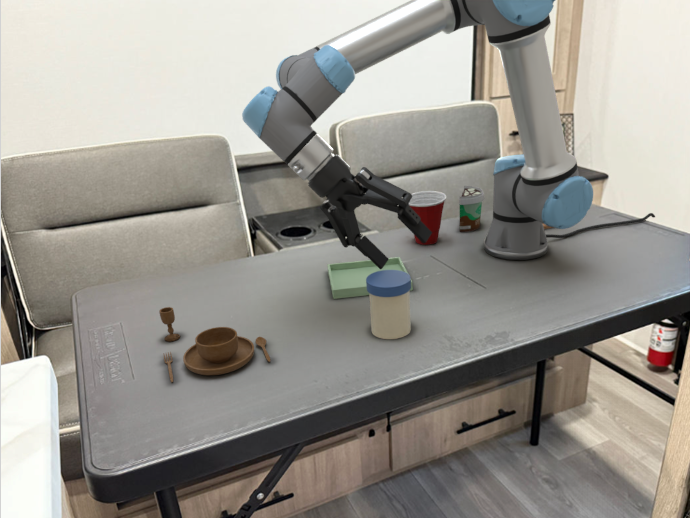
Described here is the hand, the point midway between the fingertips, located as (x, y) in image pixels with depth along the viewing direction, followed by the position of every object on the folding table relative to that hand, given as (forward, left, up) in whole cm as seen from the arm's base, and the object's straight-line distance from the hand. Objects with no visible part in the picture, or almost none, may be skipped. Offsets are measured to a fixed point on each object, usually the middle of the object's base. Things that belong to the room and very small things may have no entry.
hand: (405, 252), depth 110 cm
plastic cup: (-13, -43, -14) cm, 47 cm away
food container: (-28, -51, -14) cm, 60 cm away
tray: (+5, -21, -14) cm, 26 cm away
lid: (+4, +3, -4) cm, 6 cm away
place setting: (+36, +3, -14) cm, 39 cm away
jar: (+4, +3, -14) cm, 15 cm away
